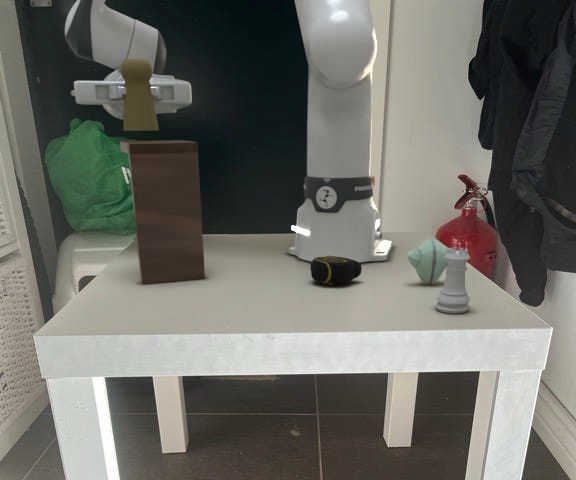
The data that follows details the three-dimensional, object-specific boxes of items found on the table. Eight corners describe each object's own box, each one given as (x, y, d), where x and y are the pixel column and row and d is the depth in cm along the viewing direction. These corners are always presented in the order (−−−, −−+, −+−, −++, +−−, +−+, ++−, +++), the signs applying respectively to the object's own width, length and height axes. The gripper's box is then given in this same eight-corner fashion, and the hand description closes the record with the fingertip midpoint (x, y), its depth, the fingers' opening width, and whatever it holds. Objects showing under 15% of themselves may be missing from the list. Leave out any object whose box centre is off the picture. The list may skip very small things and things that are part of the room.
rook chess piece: (433, 304, 88) (438, 245, 85) (466, 305, 87) (472, 246, 84) (437, 314, 84) (442, 252, 81) (472, 314, 83) (478, 253, 80)
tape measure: (363, 282, 100) (364, 258, 99) (334, 290, 96) (335, 265, 94) (330, 275, 104) (330, 252, 103) (301, 282, 100) (301, 258, 98)
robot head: (406, 287, 97) (408, 242, 94) (399, 281, 100) (402, 237, 98) (458, 286, 97) (462, 241, 95) (449, 280, 101) (453, 236, 98)
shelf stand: (132, 269, 109) (119, 141, 101) (190, 265, 113) (182, 140, 105) (142, 284, 100) (128, 143, 92) (205, 278, 103) (197, 142, 95)
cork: (116, 130, 111) (110, 59, 107) (147, 129, 115) (142, 60, 110) (134, 130, 107) (128, 56, 103) (165, 130, 111) (160, 58, 106)
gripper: (68, 74, 115) (72, 69, 103) (181, 76, 122) (197, 72, 110) (72, 112, 118) (77, 112, 106) (183, 112, 124) (199, 112, 112)
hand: (139, 91), depth 108 cm, fingers closed on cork, 4 cm apart
